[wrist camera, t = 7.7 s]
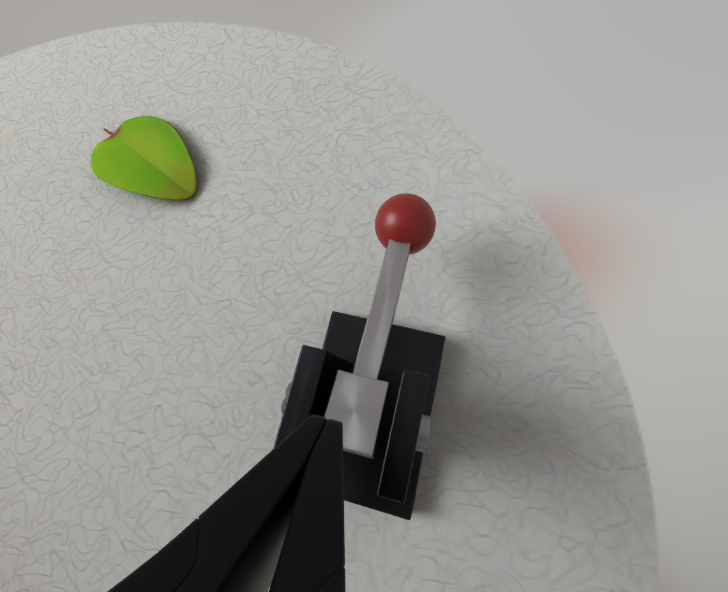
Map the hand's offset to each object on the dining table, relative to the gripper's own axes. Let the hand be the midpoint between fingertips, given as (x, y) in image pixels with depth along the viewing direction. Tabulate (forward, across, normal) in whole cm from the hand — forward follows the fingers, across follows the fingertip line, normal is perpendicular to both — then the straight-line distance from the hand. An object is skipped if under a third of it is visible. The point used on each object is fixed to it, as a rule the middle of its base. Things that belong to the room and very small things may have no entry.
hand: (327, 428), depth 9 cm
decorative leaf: (+19, +21, -1) cm, 28 cm away
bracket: (+9, 0, +9) cm, 13 cm away
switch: (+9, 0, +3) cm, 9 cm away
